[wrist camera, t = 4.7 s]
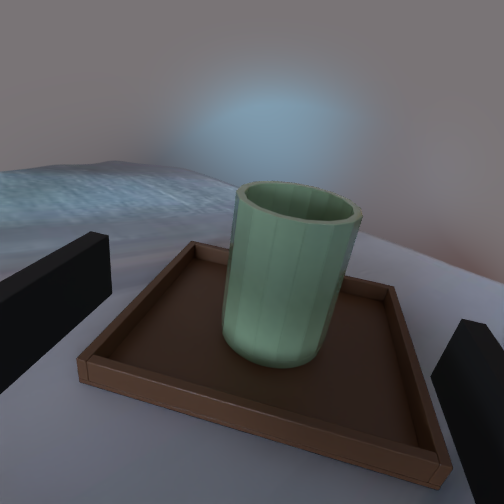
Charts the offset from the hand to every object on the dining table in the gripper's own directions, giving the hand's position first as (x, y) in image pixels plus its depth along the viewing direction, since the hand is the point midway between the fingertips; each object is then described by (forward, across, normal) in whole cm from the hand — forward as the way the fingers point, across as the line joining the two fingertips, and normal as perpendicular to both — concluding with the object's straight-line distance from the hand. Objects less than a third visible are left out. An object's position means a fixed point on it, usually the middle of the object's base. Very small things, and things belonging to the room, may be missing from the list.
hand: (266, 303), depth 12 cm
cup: (+9, 0, -8) cm, 12 cm away
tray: (+9, 0, -9) cm, 12 cm away
